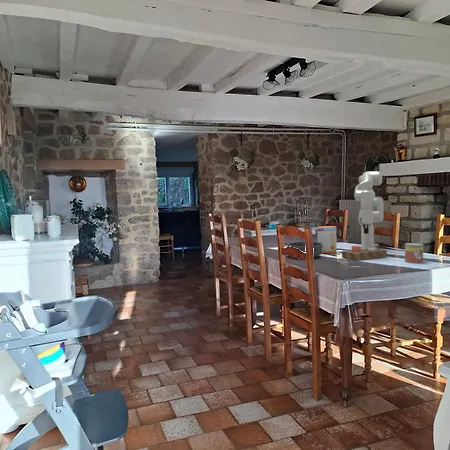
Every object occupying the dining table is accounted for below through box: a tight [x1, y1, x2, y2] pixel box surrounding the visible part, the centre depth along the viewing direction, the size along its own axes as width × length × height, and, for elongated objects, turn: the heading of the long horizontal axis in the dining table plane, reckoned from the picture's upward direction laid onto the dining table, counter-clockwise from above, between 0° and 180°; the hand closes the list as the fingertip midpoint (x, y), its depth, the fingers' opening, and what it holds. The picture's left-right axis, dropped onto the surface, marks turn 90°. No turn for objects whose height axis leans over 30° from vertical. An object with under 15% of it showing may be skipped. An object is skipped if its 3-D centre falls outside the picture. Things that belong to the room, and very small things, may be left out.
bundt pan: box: [286, 241, 323, 258], centre depth 310 cm, size 26×26×10 cm
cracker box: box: [316, 225, 338, 255], centre depth 322 cm, size 14×6×21 cm, turn 84°
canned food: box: [404, 242, 424, 264], centre depth 279 cm, size 11×11×12 cm
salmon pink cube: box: [351, 244, 361, 252], centre depth 296 cm, size 4×4×4 cm
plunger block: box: [341, 248, 388, 262], centre depth 299 cm, size 28×14×5 cm, turn 111°
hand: (366, 233), depth 297 cm, fingers closed
